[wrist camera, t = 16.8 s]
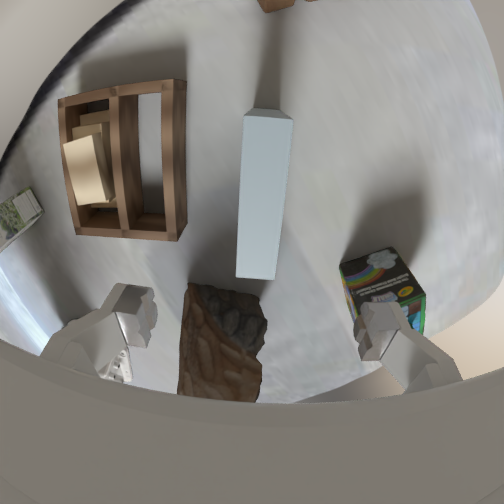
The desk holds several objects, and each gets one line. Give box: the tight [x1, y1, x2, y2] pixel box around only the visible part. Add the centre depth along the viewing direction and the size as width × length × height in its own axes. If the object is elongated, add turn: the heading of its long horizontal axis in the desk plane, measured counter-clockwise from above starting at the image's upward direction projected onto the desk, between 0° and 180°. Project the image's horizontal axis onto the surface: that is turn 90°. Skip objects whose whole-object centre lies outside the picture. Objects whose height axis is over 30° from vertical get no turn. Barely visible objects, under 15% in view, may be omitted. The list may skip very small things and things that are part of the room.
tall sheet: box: [236, 108, 293, 280], centre depth 25 cm, size 12×3×15 cm, turn 177°
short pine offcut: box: [63, 132, 114, 206], centre depth 27 cm, size 8×5×2 cm, turn 4°
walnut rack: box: [58, 79, 187, 242], centre depth 29 cm, size 18×15×5 cm
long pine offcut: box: [80, 110, 117, 208], centre depth 30 cm, size 13×5×2 cm, turn 177°
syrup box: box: [0, 186, 44, 253], centre depth 29 cm, size 6×6×14 cm
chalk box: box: [339, 247, 426, 335], centre depth 33 cm, size 9×9×15 cm
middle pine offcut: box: [72, 121, 116, 203], centre depth 28 cm, size 10×5×2 cm, turn 176°
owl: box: [177, 283, 268, 403], centre depth 36 cm, size 13×13×20 cm
